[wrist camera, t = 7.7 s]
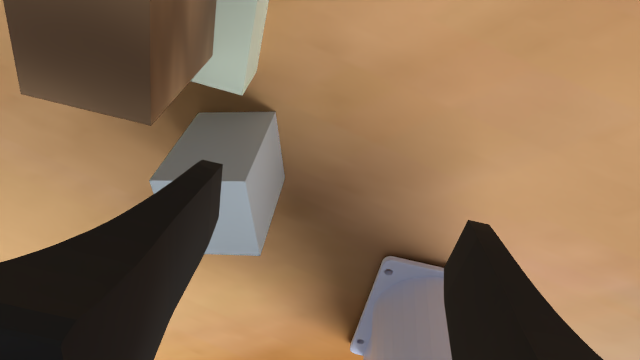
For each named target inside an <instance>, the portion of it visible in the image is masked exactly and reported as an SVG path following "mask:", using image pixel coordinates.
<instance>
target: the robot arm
mask: <svg viewBox="0 0 640 360" xmlns="http://www.w3.org/2000/svg"><path fill="white" fill-rule="evenodd" d="M222 170H223V164H220V163H215V162H211V161H207V160H201V161H199V162H197V163H196V164H195V165H193V166H192V167H191V168H189V169H188V170H187V171H185V172H184V173H183V174H181V175H180V176H179V177H177V178H176V179H175V180H173V181H172V182H171V183H169V184H168V185H166V186H165V187H163V188H162V189H161V190H159V191H158V192H156V193H155V194H153V195H152V196H150V197H149V198H147V199H146V200H144V201H143V202H141V203H139V204H138V205H136V206H134V207H133V208H131V209H130V210H128V211H126V212H125V213H123V214H121V215H119V216H117V217H116V218H114V219H112V220H110V221H108V222H106V223H104V224H102V225H100V226H98V227H96V228H94V229H92V230H90V231H87V232H85V233H83V234H80V235H78V236H75V237H73V238H71V239H68V240H66V241H63V242H61V243H58V244H56V245H53V246H50V247H48V248H45V249H42V250H39V251H36V252H33V253H30V254H27V255H24V256H21V257H18V258H14V259H11V260H8V261H4V262H0V360H154V358H155V355H156V352H157V350H158V348H159V345H160V343H161V340H162V338H163V335H164V333H165V330H166V328H167V325H168V323H169V321H170V319H171V316H172V314H173V312H174V310H175V308H176V306H177V304H178V302H179V301H180V299H181V297H182V295H183V293H184V291H185V289H186V287H187V286H188V284H189V282H190V280H191V278H192V276H193V274H194V272H195V270H196V269H197V267H198V265H199V263H200V261H201V259H202V257H203V255H204V253H205V251H206V249H207V248H208V245H209V243H210V240H211V237H212V235H213V232H214V229H215V227H216V224H217V221H218V218H219V208H220V195H221V183H222ZM386 269H390V271H389V270H386ZM350 350H351V352H353V353H355V354H358V355H363V356H364V359H363V360H603V359H602V358H601V357H600V356H599V355H598V354H596V353H595V352H594V351H593V350H592V349H591V348H590V347H589V346H588V345H587V344H586V343H585V342H584V341H583V340H582V339H581V338H580V337H579V336H578V335H577V334H576V333H575V332H574V331H573V330H572V329H571V328H570V327H569V326H568V325H567V324H566V323H565V321H564V320H563V319H562V318H561V317H560V316H559V315H558V314H557V313H556V311H555V310H554V309H553V308H552V307H551V306H550V304H549V303H548V302H547V301H546V300H545V298H544V297H543V296H542V295H541V294H540V292H539V291H538V290H537V289H536V287H535V286H534V285H533V284H532V282H531V281H530V280H529V278H528V277H527V276H526V274H525V273H524V272H523V270H522V269H521V268H520V266H519V265H518V264H517V262H516V261H515V260H514V258H513V257H512V255H511V254H510V253H509V251H508V250H507V248H506V247H505V246H504V244H503V243H502V241H501V240H500V239H499V237H498V236H497V235H496V233H495V232H494V230H493V229H492V228H491V227H490V225H488V224H484V223H479V222H475V221H470V220H468V222H467V224H466V226H465V228H464V229H463V231H462V233H461V235H460V237H459V239H458V241H457V243H456V245H455V247H454V249H453V251H452V253H451V255H450V257H449V259H448V261H447V263H446V265H445V267H444V268H442V267H438V266H434V265H429V264H425V263H420V262H416V261H411V260H407V259H403V258H398V257H394V256H388V257H385V258H384V259H383V261H382V263H381V266H380V268H379V271H378V274H377V276H376V279H375V282H374V284H373V287H372V289H371V292H370V295H369V297H368V300H367V302H366V305H365V308H364V310H363V313H362V316H361V318H360V321H359V323H358V326H357V329H356V331H355V334H354V336H353V339H352V342H351V344H350Z"/></svg>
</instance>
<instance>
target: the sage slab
mask: <svg viewBox="0 0 640 360" xmlns="http://www.w3.org/2000/svg"><path fill="white" fill-rule="evenodd" d="M268 3H269V0H217V1H216V15H215V29H214V42H213V56H212V57H211V58H210V59H209V61H208V62H207V63H206V64H205V65H204V66H203V67H202V68H201V70H200V71H199V72H198V73H197V74H196V75H195V76H194V78H193V79H192V80H191V81H192V82H195V83H199V84H202V85H206V86H210V87H213V88H217V89H220V90H224V91H228V92H231V93H235V94H238V95H243V94H244V92H245V90H246V89H247V87H248V85H249V84H250V82H251V80H252V79H253V77H254V75H255V74H256V72H257V66H258V60H259V55H260V49H261V43H262V37H263V31H264V26H265V20H266V14H267V8H268Z"/></svg>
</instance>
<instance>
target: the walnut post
mask: <svg viewBox="0 0 640 360" xmlns="http://www.w3.org/2000/svg"><path fill="white" fill-rule="evenodd" d="M3 1H4V7H5V12H6V17H7V23H8V28H9V33H10V39H11V44H12V49H13V54H14V60H15V65H16V70H17V76H18V81H19V86H20V92H21V94H23V95H27V96H31V97H35V98H39V99H43V100H47V101H51V102H56V103H60V104H64V105H68V106H72V107H76V108H80V109H84V110H89V111H93V112H97V113H101V114H105V115H109V116H113V117H117V118H121V119H126V120H130V121H134V122H138V123H142V124H146V125H150V126H151V125H152V124H153V123H154V122H155V121H156V119H157V118H158V117H159V116H160V115H161V114H162V113H163V111H164V110H165V109H166V108H167V107H168V106H169V105H170V104H171V102H172V101H173V100H174V99H175V98H176V97H177V96H178V94H179V93H180V92H181V91H182V90H183V89H184V88H185V87H186V85H187V84H188V83H189V82H190V81H191V80H192V79H193V78H194V76H195V75H196V74H197V73H198V72H199V71H200V70H201V68H202V67H203V66H204V65H205V64H206V63H207V62H208V61H209V59H210V58H211V57H212V56H213V42H214V29H215V15H216V1H217V0H3Z"/></svg>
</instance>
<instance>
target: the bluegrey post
mask: <svg viewBox="0 0 640 360" xmlns="http://www.w3.org/2000/svg"><path fill="white" fill-rule="evenodd" d="M201 160H207V161H211V162H215V163H220V164H223V170H222V183H221V195H220V208H219V218H218V221H217V224H216V227H215V229H214V232H213V235H212V237H211V240H210V243H209V245H208V248H207V249H206V251H205V253H204V254H221V255H251V256H260V255H261V252H262V248H263V245H264V242H265V239H266V236H267V233H268V230H269V227H270V223H271V220H272V217H273V214H274V211H275V208H276V205H277V202H278V198H279V195H280V192H281V189H282V186H283V183H284V180H285V175H284V168H283V160H282V153H281V146H280V139H279V132H278V125H277V118H276V112H201V113H198V114H197V115H196V117H195V118H194V119H193V121H192V122H191V124H190V125H189V126H188V128H187V129H186V130H185V132H184V133H183V135H182V136H181V137H180V139H179V140H178V141H177V143H176V144H175V146H174V147H173V148H172V150H171V151H170V153H169V154H168V155H167V157H166V158H165V159H164V161H163V162H162V164H161V165H160V166H159V168H158V169H157V170H156V172H155V173H154V175H153V176H152V177H151V179H150V180H149V181H150V184H151V187H152V190H153V193H154V194H155V193H156V192H158V191H159V190H161V189H162V188H163V187H165V186H166V185H168V184H169V183H171V182H172V181H173V180H175V179H176V178H177V177H179V176H180V175H181V174H183V173H184V172H185V171H187V170H188V169H189V168H191V167H192V166H193V165H195V164H196V163H197V162H199V161H201Z"/></svg>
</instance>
